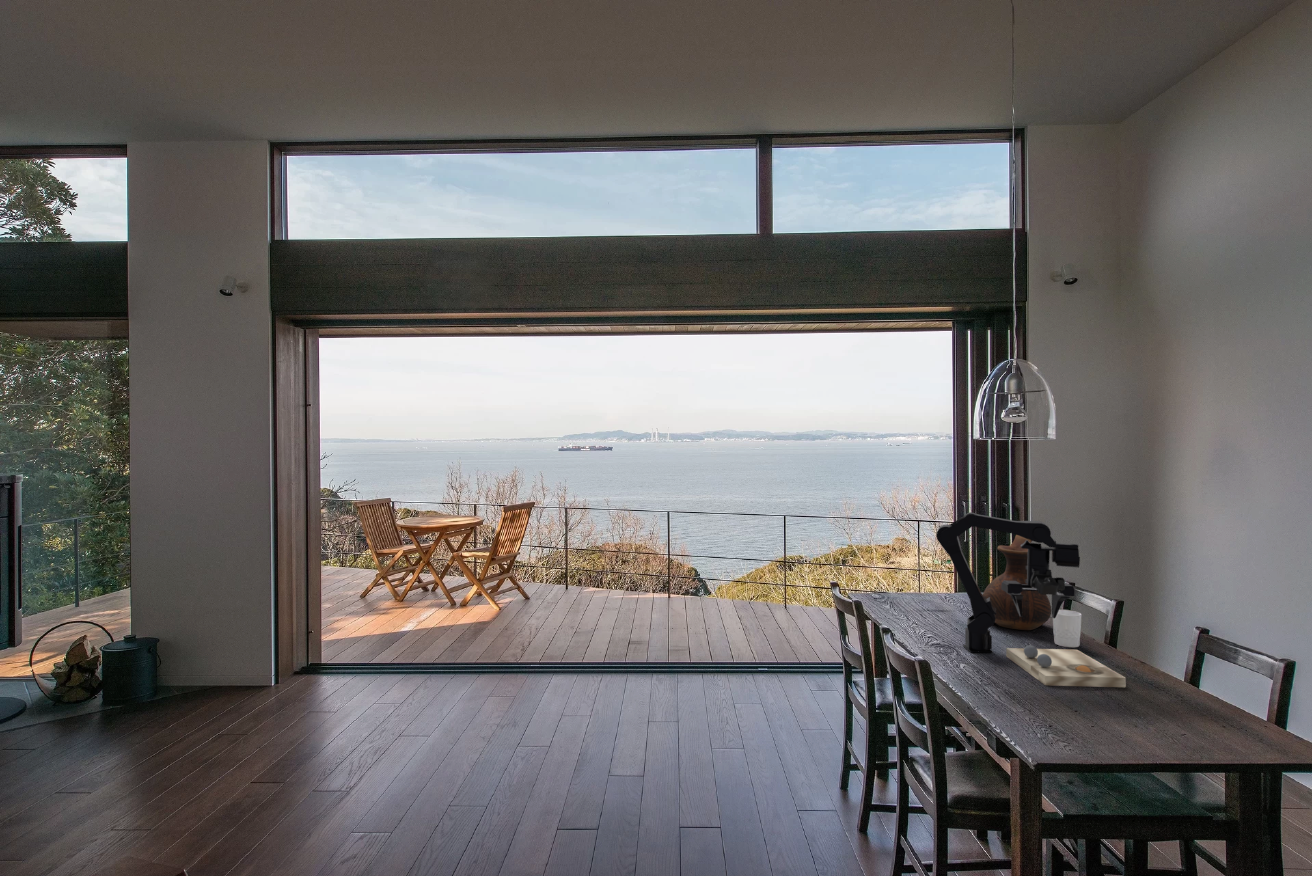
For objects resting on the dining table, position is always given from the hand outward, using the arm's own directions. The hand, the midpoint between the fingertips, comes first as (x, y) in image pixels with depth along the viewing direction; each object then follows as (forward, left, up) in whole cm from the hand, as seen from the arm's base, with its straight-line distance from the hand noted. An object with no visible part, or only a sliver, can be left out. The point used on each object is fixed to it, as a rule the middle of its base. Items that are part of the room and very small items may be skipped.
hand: (1037, 617), depth 205 cm
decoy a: (-6, -9, -8) cm, 13 cm away
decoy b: (-6, -17, -8) cm, 20 cm away
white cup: (+15, +14, -12) cm, 24 cm away
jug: (+9, +36, -12) cm, 39 cm away
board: (+1, -12, -12) cm, 17 cm away
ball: (+4, -18, -10) cm, 21 cm away
